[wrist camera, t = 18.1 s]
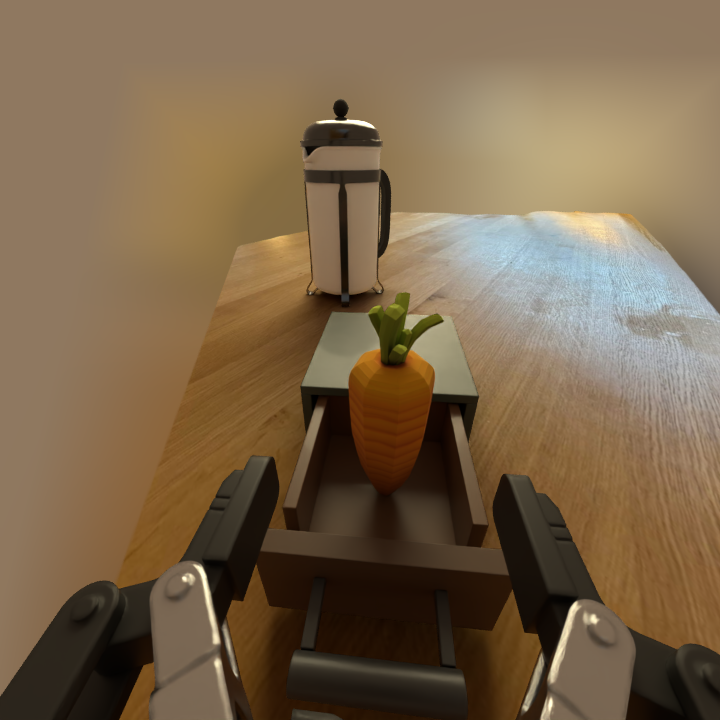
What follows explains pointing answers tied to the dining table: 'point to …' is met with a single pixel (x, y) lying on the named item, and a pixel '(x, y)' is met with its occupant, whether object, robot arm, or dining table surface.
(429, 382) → the carrot
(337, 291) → the coffee press
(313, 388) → the cabinet
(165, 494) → the dining table surface
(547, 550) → the robot arm
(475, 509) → the drawer
